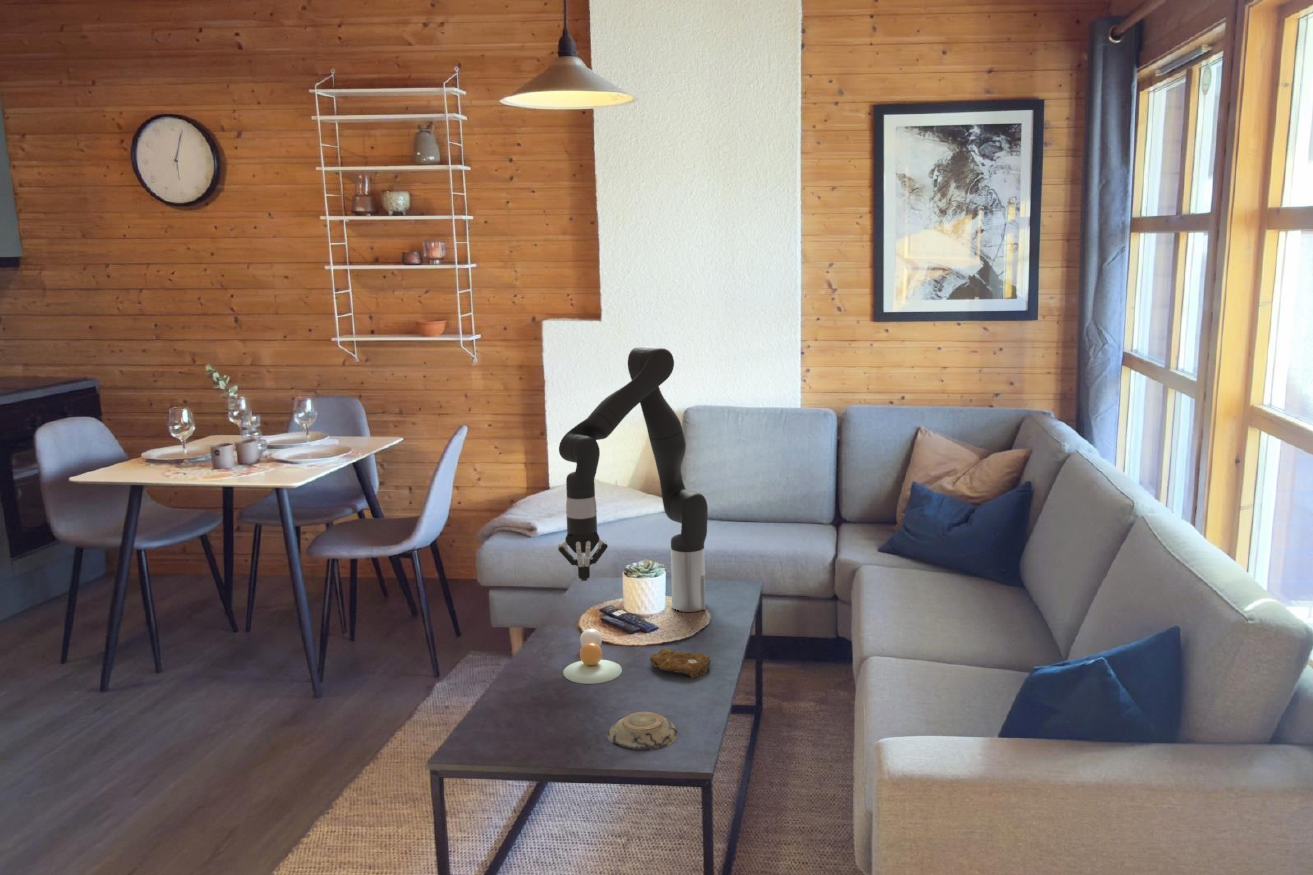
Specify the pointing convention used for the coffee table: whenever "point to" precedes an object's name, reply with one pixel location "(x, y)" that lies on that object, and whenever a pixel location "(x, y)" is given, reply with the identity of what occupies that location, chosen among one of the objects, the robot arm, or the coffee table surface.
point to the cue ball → (590, 637)
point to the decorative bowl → (643, 732)
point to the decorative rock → (681, 662)
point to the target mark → (592, 672)
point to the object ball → (590, 654)
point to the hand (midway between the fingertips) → (584, 579)
